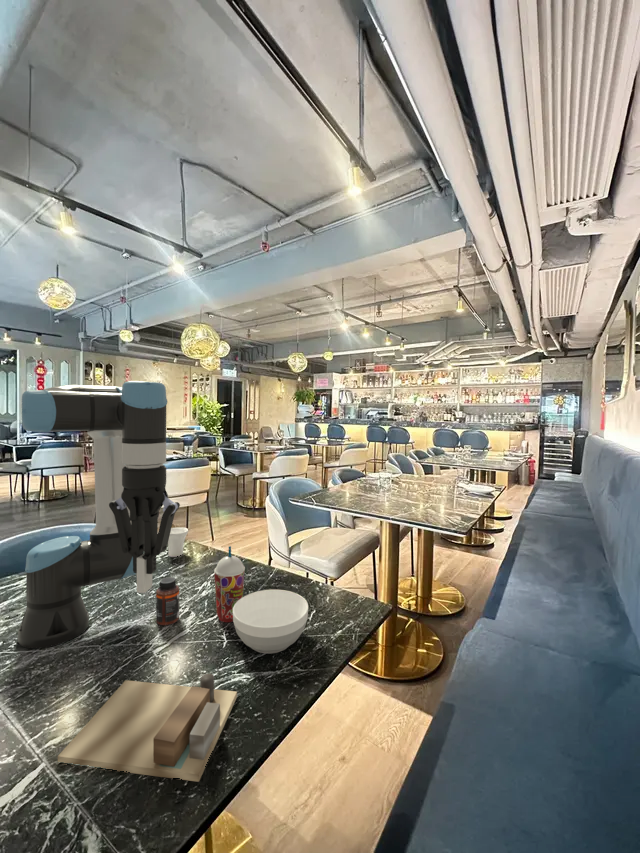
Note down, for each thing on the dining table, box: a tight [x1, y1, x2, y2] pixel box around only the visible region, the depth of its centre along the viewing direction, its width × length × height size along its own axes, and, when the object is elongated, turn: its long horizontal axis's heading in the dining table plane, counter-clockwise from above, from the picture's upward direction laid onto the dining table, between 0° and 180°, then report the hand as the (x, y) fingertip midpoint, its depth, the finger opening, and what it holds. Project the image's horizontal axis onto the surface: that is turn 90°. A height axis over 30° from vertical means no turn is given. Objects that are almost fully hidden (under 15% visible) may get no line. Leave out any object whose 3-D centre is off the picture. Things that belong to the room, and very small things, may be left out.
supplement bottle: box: [155, 576, 180, 626], centre depth 106 cm, size 6×6×11 cm
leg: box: [153, 685, 210, 767], centre depth 67 cm, size 12×4×4 cm, turn 169°
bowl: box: [233, 589, 309, 655], centre depth 98 cm, size 19×19×9 cm
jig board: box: [57, 673, 238, 783], centre depth 71 cm, size 24×18×6 cm
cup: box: [167, 526, 189, 558], centre depth 154 cm, size 9×9×10 cm
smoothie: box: [213, 545, 246, 623], centre depth 108 cm, size 8×8×20 cm
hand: (144, 589), depth 73 cm, fingers closed
